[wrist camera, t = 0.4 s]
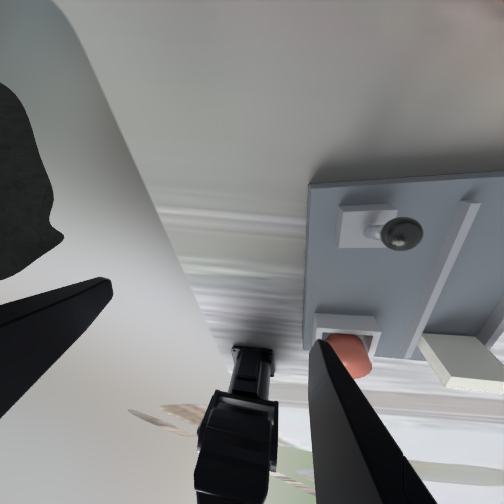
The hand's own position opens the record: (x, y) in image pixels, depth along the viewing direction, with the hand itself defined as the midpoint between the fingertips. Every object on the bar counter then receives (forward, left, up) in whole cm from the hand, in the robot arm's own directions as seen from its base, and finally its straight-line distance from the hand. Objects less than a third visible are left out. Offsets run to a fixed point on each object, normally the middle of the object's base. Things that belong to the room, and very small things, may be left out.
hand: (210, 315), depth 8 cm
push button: (-14, -9, -10) cm, 19 cm away
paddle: (-13, -19, -11) cm, 25 cm away
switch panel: (-7, -14, -14) cm, 21 cm away
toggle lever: (0, -9, -9) cm, 13 cm away
